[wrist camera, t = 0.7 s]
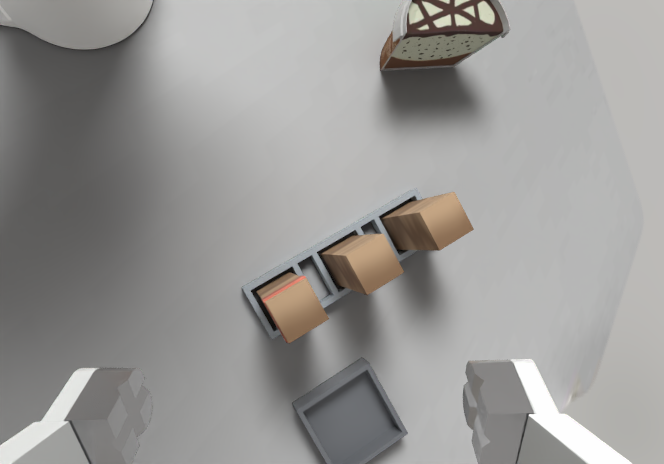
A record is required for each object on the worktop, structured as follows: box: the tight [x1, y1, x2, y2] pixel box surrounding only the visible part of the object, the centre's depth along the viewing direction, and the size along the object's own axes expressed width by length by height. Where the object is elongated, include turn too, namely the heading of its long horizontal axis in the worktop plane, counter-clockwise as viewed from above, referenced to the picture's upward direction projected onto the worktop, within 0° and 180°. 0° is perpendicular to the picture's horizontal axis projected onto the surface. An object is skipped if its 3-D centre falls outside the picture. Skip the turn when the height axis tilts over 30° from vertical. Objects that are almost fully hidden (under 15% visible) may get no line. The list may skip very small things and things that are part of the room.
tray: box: [293, 358, 408, 464], centre depth 50 cm, size 9×9×2 cm
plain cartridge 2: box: [380, 192, 474, 250], centre depth 49 cm, size 4×4×11 cm
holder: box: [242, 188, 422, 339], centre depth 51 cm, size 6×22×2 cm, turn 119°
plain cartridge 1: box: [320, 233, 404, 295], centre depth 47 cm, size 4×4×11 cm
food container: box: [380, 0, 511, 71], centre depth 50 cm, size 12×6×10 cm, turn 98°
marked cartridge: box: [256, 272, 329, 343], centre depth 45 cm, size 4×4×11 cm
